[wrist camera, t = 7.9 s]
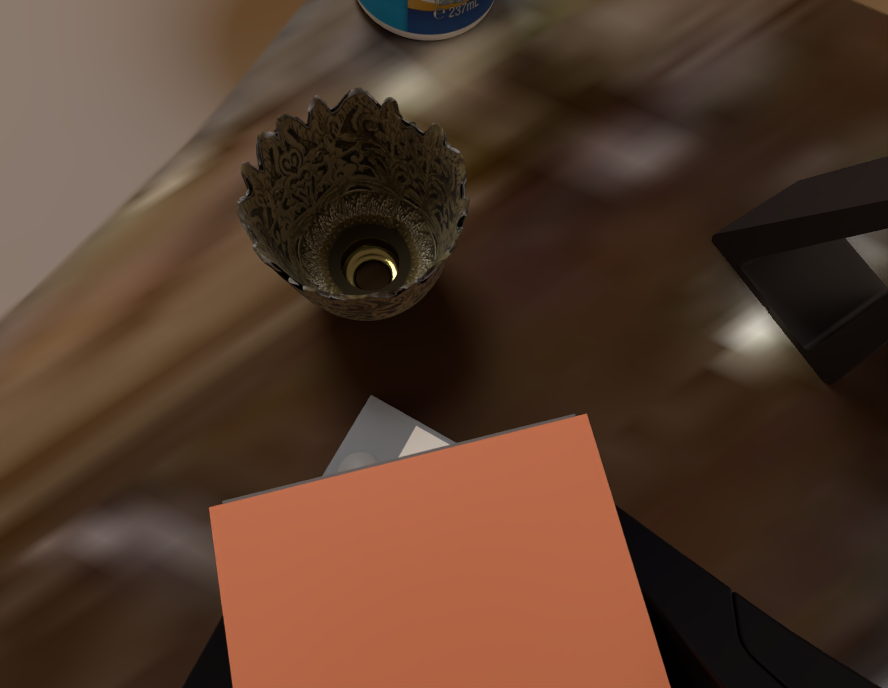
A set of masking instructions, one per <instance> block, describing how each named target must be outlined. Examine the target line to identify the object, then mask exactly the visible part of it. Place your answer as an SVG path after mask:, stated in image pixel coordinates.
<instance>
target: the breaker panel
mask: <svg viewBox="0 0 888 688" xmlns="http://www.w3.org/2000/svg"><path fill="white" fill-rule="evenodd" d="M451 444H455V442H454V441H452V440H450V439H448V438H446V437H445V436H443V435H441V434H439V433H438V432H436V431H434V430H432V429H431V428H429V427H427V426H425V425H424V424H422V423H420V422H418V421H416V420H415V419H413V418H411V417H409V416H408V415H406V414H404V413H402V412H401V411H399V410H397V409H395V408H394V407H392V406H390V405H388V404H386V403H385V402H383V401H381V400H379V399H378V398H376V397H374V396H372V395H371V396H370V397H369V399H368V401H367V402H366V404H365V406H364V407H363V409H362V411H361V412H360V414H359V416H358V417H357V419H356V421H355V422H354V424H353V426H352V427H351V429H350V431H349V432H348V434H347V436H346V437H345V439H344V441H343V442H342V444H341V446H340V447H339V449H338V451H337V453H336V454H335V456H334V458H333V459H332V461H331V463H330V464H329V466H328V468H327V469H326V471H325V473H324V474H323V476H326V475H330V474H334V473H338V472H342V471H346V470H350V469H354V468H358V467H362V466H366V465H370V464H374V463H378V462H382V461H386V460H390V459H394V458H398V457H402V456H407V455H411V454H415V453H419V452H423V451H427V450H431V449H435V448H439V447H443V446H447V445H451Z"/></svg>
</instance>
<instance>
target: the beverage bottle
mask: <svg viewBox="0 0 888 688" xmlns="http://www.w3.org/2000/svg"><path fill="white" fill-rule="evenodd" d="M358 2H359V4H360V5H361V7H362V8H363V10H364V11H365V12H366V13H367V14H368V15H369V16H370V17H371V18H372V19H373V20H374V21H375V22H376V23H377V24H379V25H380V26H382V27H383V28H385V29H387V30H388V31H390V32H393V33H395V34H397V35H400V36H403V37H406V38H410V39H416V40H442V39H447V38H451V37H454V36H457V35H460V34H462V33H464V32H466V31H468V30H470V29H471V28H473V27H474V26H475V25H477V24H478V23H479V22H480V21H481V20H482V19H483V18H484V17H485V16H486V14H487V13H488V12H489V10H490V8H491V7H492V5H493V3H494V0H358Z"/></svg>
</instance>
